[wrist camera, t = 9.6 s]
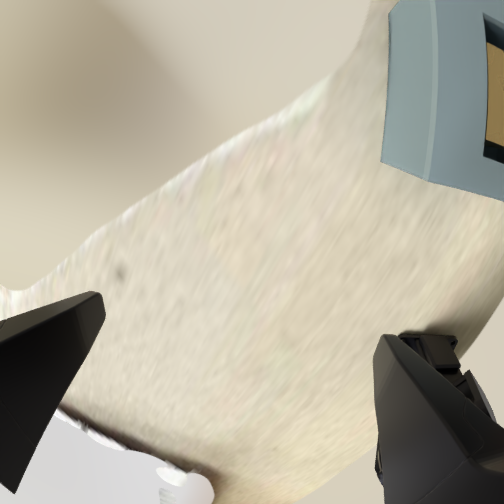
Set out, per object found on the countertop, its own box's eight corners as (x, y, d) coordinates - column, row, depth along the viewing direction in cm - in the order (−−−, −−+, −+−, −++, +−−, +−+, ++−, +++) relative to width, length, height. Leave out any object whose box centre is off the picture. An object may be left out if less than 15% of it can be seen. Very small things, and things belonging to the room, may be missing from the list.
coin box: (492, 189, 17) (559, 220, 10) (380, 161, 18) (428, 181, 11) (501, 57, 13) (565, 44, 5) (388, 14, 14) (429, -36, 7)
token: (466, 142, 16) (517, 152, 10) (438, 134, 16) (485, 139, 11) (470, 71, 14) (519, 59, 8) (441, 60, 14) (486, 42, 9)
